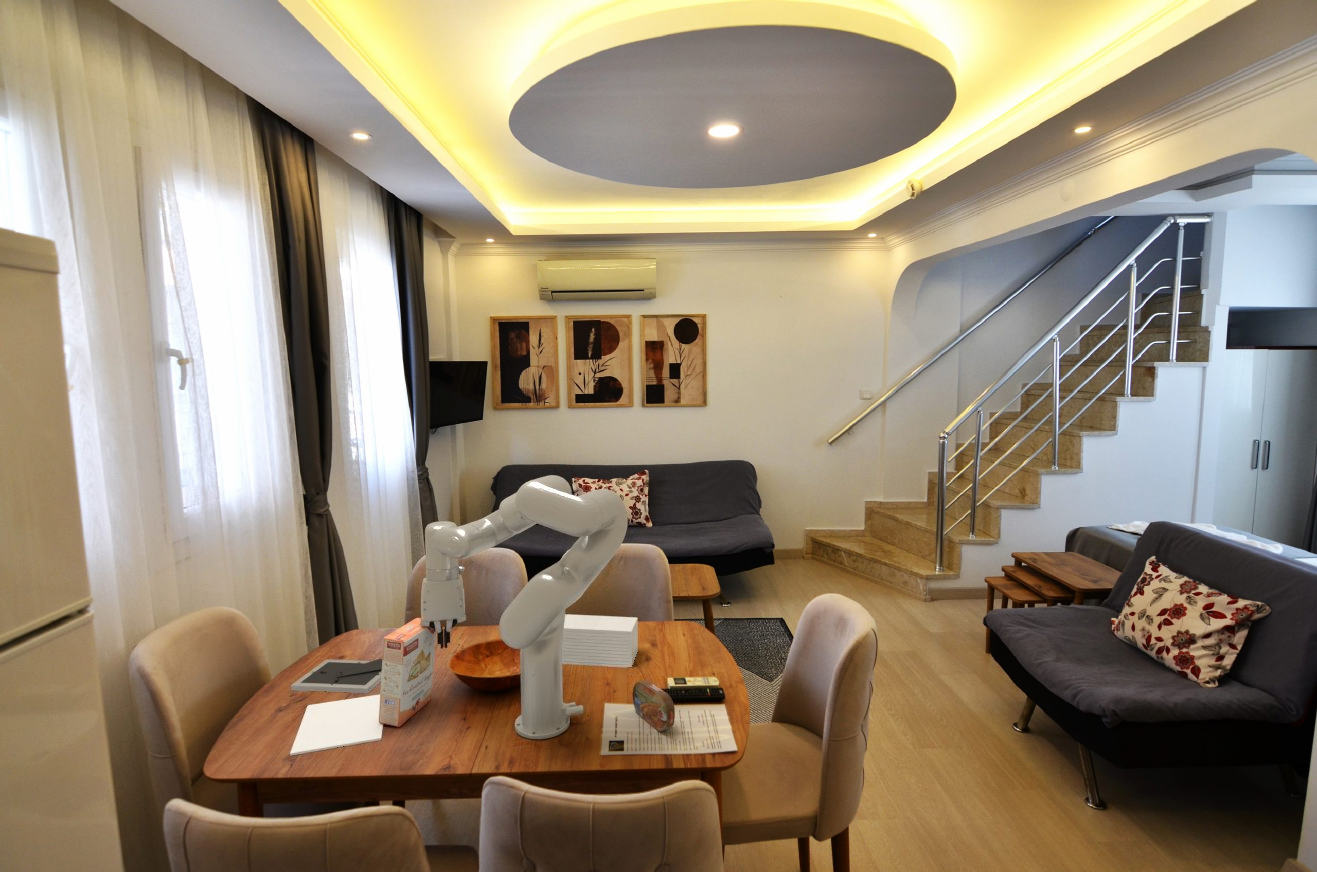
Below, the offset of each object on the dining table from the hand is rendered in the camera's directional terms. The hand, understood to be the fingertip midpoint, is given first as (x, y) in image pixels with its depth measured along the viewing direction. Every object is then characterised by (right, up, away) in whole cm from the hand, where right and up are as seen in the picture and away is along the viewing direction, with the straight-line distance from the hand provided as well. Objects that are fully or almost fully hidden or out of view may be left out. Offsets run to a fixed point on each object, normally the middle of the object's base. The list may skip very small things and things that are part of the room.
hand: (443, 646), depth 158 cm
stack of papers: (+30, -13, +30) cm, 44 cm away
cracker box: (-8, -15, -2) cm, 18 cm away
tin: (+51, -16, -6) cm, 54 cm away
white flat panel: (-22, -16, -7) cm, 28 cm away
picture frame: (-32, -15, +16) cm, 39 cm away
